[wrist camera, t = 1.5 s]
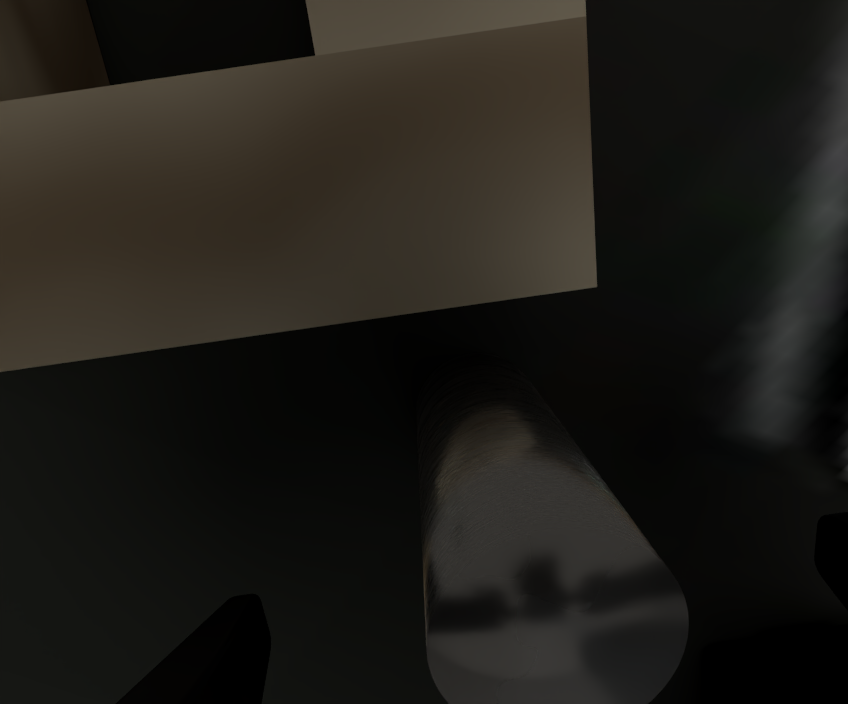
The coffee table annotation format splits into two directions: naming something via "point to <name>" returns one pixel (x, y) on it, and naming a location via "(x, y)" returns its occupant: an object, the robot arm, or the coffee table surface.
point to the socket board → (290, 177)
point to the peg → (532, 554)
